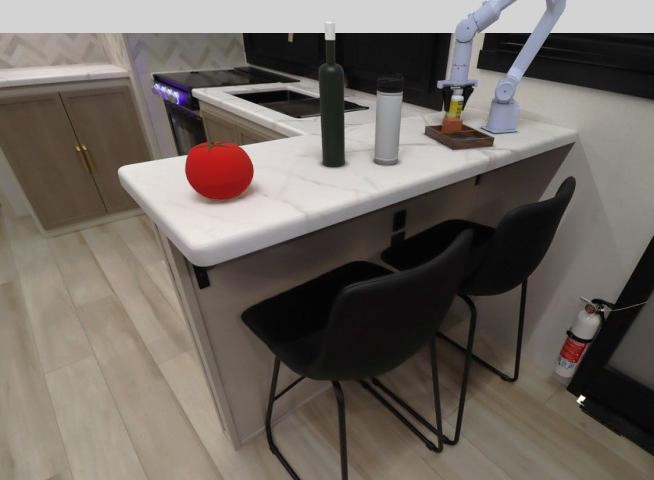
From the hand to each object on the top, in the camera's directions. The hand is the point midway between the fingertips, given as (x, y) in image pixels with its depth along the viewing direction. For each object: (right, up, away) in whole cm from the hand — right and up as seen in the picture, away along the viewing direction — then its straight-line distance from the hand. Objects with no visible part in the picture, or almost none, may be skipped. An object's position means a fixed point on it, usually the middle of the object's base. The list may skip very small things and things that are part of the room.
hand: (453, 110), depth 131 cm
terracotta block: (-3, -12, -9) cm, 16 cm away
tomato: (-60, -44, -51) cm, 90 cm away
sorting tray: (-2, -15, -12) cm, 19 cm away
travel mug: (-25, -29, -30) cm, 49 cm away
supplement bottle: (0, -2, +2) cm, 3 cm away
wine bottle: (-39, -31, -33) cm, 59 cm away
